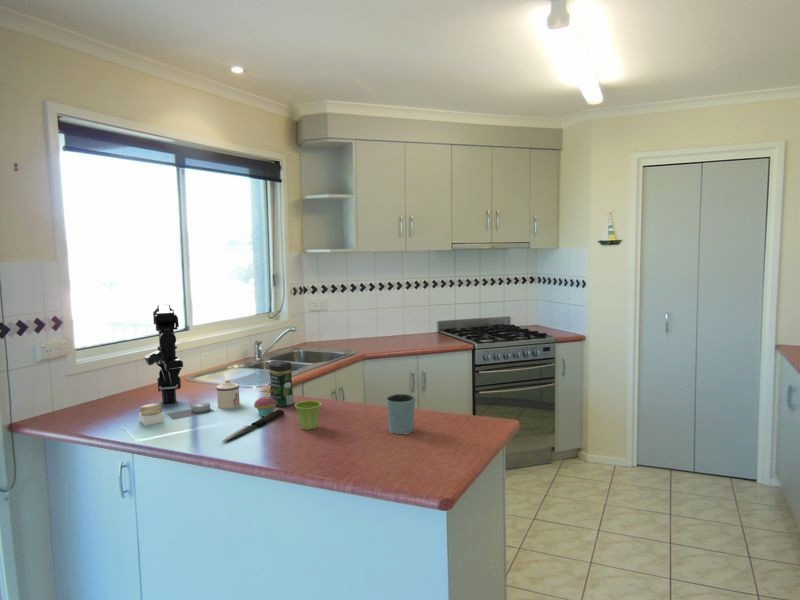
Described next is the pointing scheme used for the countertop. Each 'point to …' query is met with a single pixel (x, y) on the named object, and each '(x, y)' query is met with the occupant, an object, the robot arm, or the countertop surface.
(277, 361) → the coffee jar
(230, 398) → the teacup with lid
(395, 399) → the blue cup
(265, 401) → the cupcake
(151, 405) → the cork lid
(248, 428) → the kitchen knife
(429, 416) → the countertop surface
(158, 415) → the open white box
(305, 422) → the plant pot
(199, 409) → the grey puck
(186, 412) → the mat
